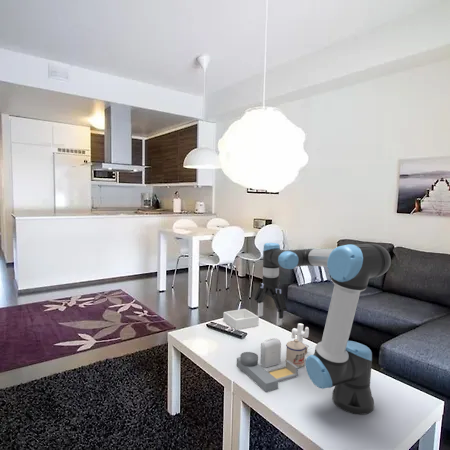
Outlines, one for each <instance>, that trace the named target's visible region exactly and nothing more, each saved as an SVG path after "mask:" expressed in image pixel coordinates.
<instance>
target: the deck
mask: <svg viewBox="0 0 450 450" xmlns="http://www.w3.org/2000/svg"><path fill="white" fill-rule="evenodd" d="M236 366H237V367H238V369H240V370H241V371H242V372H243V373H244V374H246V376H247V377H249V378H250V379H251V380H252V381H253V382H254V383H255V382H256V383H257V384H258V385H257V384H256V383H255V384H256V385H257V386H259V387H260V388H261V389H262V390H263V391H264V392H265V393H268V391H269V392H272V391H275V390H278V389H279V383H280V382H281V383H282V382H284V381H288V380H291V379H294V378H297V377H298V376H299V367H297V366H296V365H294V364H293V363H292V362H290V361H289V360H286V359H285V364H284V365H282V366H279V367H275V368H271V369H267V370H266V368H263V367H262V366H261V364H259V356H258V354H257V353H255V352H252V351H245V352H242V353H241V354H240V356H239V357H237V358H236Z"/></svg>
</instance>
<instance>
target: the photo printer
mask: <svg viewBox="0 0 450 450" xmlns="http://www.w3.org/2000/svg"><path fill="white" fill-rule="evenodd" d="M281 353H282V342H281V340H280V339H279V338H276V337H273V338H268V339H266V340H264V341H262V342H261V344H260V364H259V365H260V366H261V367H263V368H264V369H266V368H269V367H272V366H276V365H279V364H280V363H281V356H282V355H281Z"/></svg>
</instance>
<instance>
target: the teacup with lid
mask: <svg viewBox="0 0 450 450" xmlns="http://www.w3.org/2000/svg"><path fill="white" fill-rule="evenodd" d="M303 343H304V342H303V341H302V342H299V341H298V340H297V338H293V340H289V341H288V342H286V344H285V346H286V347H285V348H286V351H285V352H286V353H285V361H286V360H289V361H290V362H292V363H293V364H294V365H296V366H297V367H298V368H302V367H303V366H305V360H306V358H305V357H306V355H307V354H308V349H307V347H306V346H305V345H304V344H305V343H304V344H303Z"/></svg>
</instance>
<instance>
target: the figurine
mask: <svg viewBox="0 0 450 450" xmlns="http://www.w3.org/2000/svg"><path fill="white" fill-rule="evenodd" d="M309 334H310V329H309V327H308V326H305V328H304V324H303V323H297V328H295V327H294V328H292V329H291V339H297V340H298V341H299V342H302V343H303V344H304V345H305V346H306V347H307V350H308V349H309V348H310V345H309V344H307V343H304V342H303V339H304V338H305V339H307V338H309Z"/></svg>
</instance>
